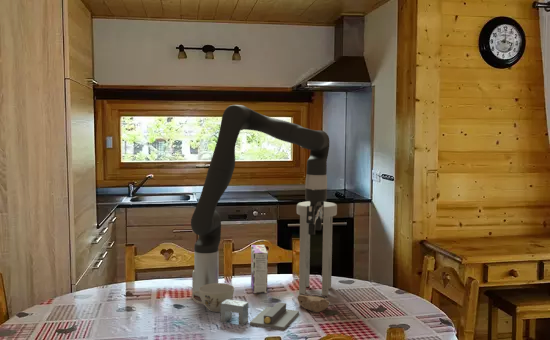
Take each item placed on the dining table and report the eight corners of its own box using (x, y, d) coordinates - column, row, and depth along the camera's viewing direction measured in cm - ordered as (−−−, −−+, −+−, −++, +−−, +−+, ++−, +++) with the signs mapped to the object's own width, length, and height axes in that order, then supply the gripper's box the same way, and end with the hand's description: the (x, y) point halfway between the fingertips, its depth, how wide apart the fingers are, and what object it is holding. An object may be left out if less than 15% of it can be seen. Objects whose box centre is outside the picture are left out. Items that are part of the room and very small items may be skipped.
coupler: (249, 324, 178) (249, 314, 178) (267, 309, 193) (267, 299, 193) (283, 330, 174) (284, 319, 174) (298, 313, 189) (299, 304, 189)
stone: (312, 314, 189) (312, 301, 188) (294, 305, 198) (295, 292, 198) (332, 310, 193) (333, 297, 193) (314, 301, 203) (315, 288, 202)
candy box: (250, 283, 224) (250, 244, 223) (264, 282, 225) (265, 244, 223) (252, 293, 211) (253, 252, 209) (267, 293, 211) (268, 252, 210)
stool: (292, 294, 210) (294, 205, 207) (299, 283, 225) (301, 200, 222) (332, 297, 207) (334, 207, 203) (336, 285, 222) (338, 201, 219)
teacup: (234, 303, 199) (234, 282, 199) (234, 315, 187) (234, 292, 186) (193, 303, 198) (193, 282, 198) (190, 315, 186) (190, 293, 185)
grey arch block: (220, 322, 180) (220, 303, 180) (226, 317, 185) (226, 299, 184) (242, 325, 178) (242, 306, 177) (248, 320, 182) (248, 302, 181)
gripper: (311, 184, 197) (310, 227, 199) (300, 188, 184) (298, 235, 186) (331, 185, 195) (330, 229, 196) (321, 190, 181) (319, 237, 183)
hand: (314, 232), depth 191 cm, fingers open, 8 cm apart
